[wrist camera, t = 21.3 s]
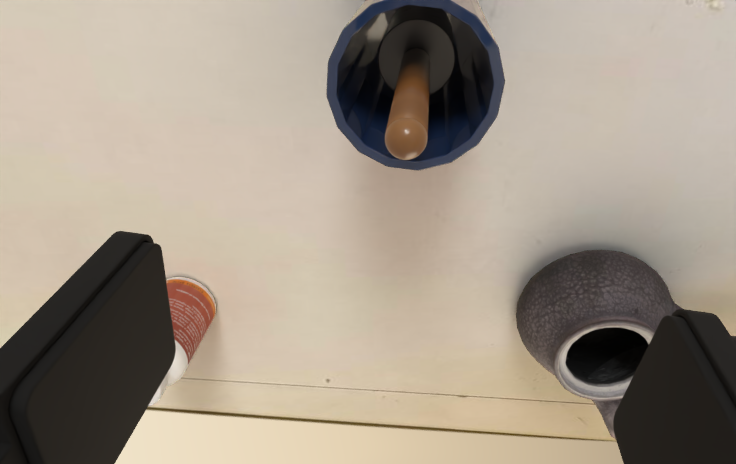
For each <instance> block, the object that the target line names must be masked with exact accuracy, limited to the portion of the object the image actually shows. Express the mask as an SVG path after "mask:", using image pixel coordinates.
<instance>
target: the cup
mask: <svg viewBox="0 0 736 464" xmlns="http://www.w3.org/2000/svg"><path fill="white" fill-rule="evenodd" d="M407 5H412V6H421V7H430V8H439V9H442V10H443V11H444V12H445V13H446V14H447V16H448V18H449V20H450V22H451V26H452V32H453V40H454V47H455V66H454V70H453V73H452V75H451V77H450V79H449V80H448V82H447V83H446V84H445V85H444V86H443V87H442V88H441V89H440V90H439V91H437V92H436V93H434V94H432V95H429V114H428V140H427V144H426V147H425V149H424V151H423V152H422V153H421V154H420V155H419V156H417V157H416V158H413V159H410V160H402V159H398V158H396V157H394V156H393V155H392V154H391V153H390V152H389V151H388V149H387V147H386V144H385V132H386V128H387V124H388V119H389V115H390V110H391V106H392V101H393V97H394V93H395V91H393V90H392V89H391V88H390V87H389V86H388V85H387V84H386V83H385V81H384V80H383V78H382V76H381V73H380V71H379V66H378V52H379V48H380V45H381V42H382V40H383V37H384V35H385V32H386V30H387V28H388V25H389V23H390V20H391V18H392V17H393V15H394V14H395V13H396V11H397V10H398V9H399V8H401V7H404V6H407ZM504 84H505V79H504V73H503V68H502V63H501V58H500V52H499V47H498V45H497V43H496V41H495V38H494V36H493V34H492V32H491V29H490V27H489V25H488V23H487V21H486V18H485V16H484V14H483V12H482V9H481V7H480V5H479V3H478V1H477V0H365V2H364V3H363V4H362V6H361V7H360V8H359V9H358V11H357V12H356V13H355V15H354V16H353V17H352V19H351V20H350V21H349V22H348V24H347V25H346V26H345V28H344V29H343V30H342V33H341V35H340V37H339V39H338V41H337V43H336V45H335V47H334V50H333V52H332V54H331V56H330V58H329V61H328V73H327V99H328V102H329V104H330V107H331V110H332V113H333V116H334V119H335V121H336V124H337V127H338V128H339V129H340V131H341V132H342V133H343V134H344V135H345V136H346V137H347V139H348V140H349V141H350V142H351V143H352V144H353V146H354V147H355V148H356V149H357V150H358V151H359V152H360V153H362V154H364V155H366V156H368V157H370V158H372V159H374V160H376V161H378V162H379V163H381V164H383V165H385V166H388V167H394V168H403V169H411V170H423V169H427V168H431V167H436V166H440V165H444V164H448V163H450V162H453V161H454V160H456V159H457V158H459V157H460V156H462V155H463V154H465V153H466V152H467V151H469V150H470V149H472V148H473V147H475V146H476V145H477V144H478V143H479V142H480V141H481V139H482V138H483V136H484V135H485V133H486V132H487V131H488V129H489V128H490V126H491V125H492V123H493V122H494V120H495V119H496V117H497V115H498V111H499V107H500V102H501V98H502V93H503V89H504Z"/></svg>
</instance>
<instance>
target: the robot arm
mask: <svg viewBox="0 0 736 464" xmlns="http://www.w3.org/2000/svg"><path fill="white" fill-rule="evenodd" d="M175 352H176V345H175V338H174V332H173V325H172V318H171V311H170V304H169V297H168V290H167V283H166V277H165V270H164V263H163V256H162V250H161V247H160V245H158V244H154V243H153V239H152V238H151V236H149V235H145V234H138V233H131V232H123V231H118V232H116V233H114V234H113V235H112V236H111V237H110V238H109V239H108V240H107V241H106V242H105V243H104V244H103V245H102V246H101V247H100V248H99V249H98V250H97V251H96V252H95V253H94V254H93V255H92V256H91V257H90V258H89V259H88V260H87V261H86V262H85V263H84V264H83V265H82V266H81V267H80V268H79V269H78V270H77V271H76V272H75V273H74V274H73V275H72V276H71V277H70V278H69V279H68V280H67V281H66V282H65V284H64V285H63V286H62V287H61V288H60V289H59V290H58V291H57V292H56V293H55V294H54V295H53V296H52V297H51V298H50V299H49V300H48V301H47V302H46V303H45V304H44V305H43V306H42V307H41V308H40V309H39V310H38V311H37V312H36V313H35V314H34V315H33V316H32V317H31V318H30V319H29V320H28V321H27V322H26V323H25V324H24V325H23V326H22V327H21V328H20V329H19V330H18V331H17V332H16V333H15V334H14V335H13V336H12V337H11V338H10V339H9V340H8V341H7V342H6V343H5V344H4V345H3V346H2V347H1V348H0V464H114V463H115V462H116V460H117V458H118V456H119V455H120V453H121V451H122V450H123V448H124V446H125V444H126V443H127V441H128V439H129V438H130V436H131V434H132V433H133V430H134V429H135V427H136V426H137V424H138V422H139V421H140V419H141V417H142V415H143V414H144V412H145V410H146V409H147V407H148V405H149V403H150V402H151V400H152V398H153V397H154V395H155V393H156V391H157V390H158V388H159V386H160V385H161V383H162V381H163V379H164V378H165V376H166V374H167V373H168V371H169V369H170V367H171V365H172V363H173V361H174V357H175ZM613 429H614V434H615V437H616V440H617V443H618V446H619V449H620V453H621V456H622V459H623V462H624V464H736V343H735V342H734V340H733V339H732V337H731V336H730V334H729V333H728V331H727V330H726V328H725V327H724V325H723V324H722V322H721V321H720V319H719V318H718V317H717V316H716V315H714V314H712V313H705V312H698V311H691V310H684V309H679V310H676V311H675V312H673V314H672V315H671V316H669V315H668V316H665V317H663V318H662V320H661V321H660V323H659V325H658V327H657V329H656V331H655V333H654V335H653V337H652V339H651V341H650V343H649V345H648V347H647V349H646V351H645V353H644V355H643V358H642V360H641V362H640V364H639V366H638V368H637V370H636V372H635V374H634V376H633V378H632V380H631V382H630V384H629V386H628V388H627V390H626V392H625V394H624V396H623V398H622V400H621V402H620V404H619V406H618V408H617V410H616V412H615V415H614V419H613Z"/></svg>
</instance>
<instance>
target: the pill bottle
mask: <svg viewBox="0 0 736 464" xmlns="http://www.w3.org/2000/svg"><path fill="white" fill-rule="evenodd" d="M166 283H167V290H168V297H169V304H170V311H171V318H172V325H173V332H174V338H175V345H176V352H175V357H174V361H173V363H172V365H171V367H170V369H169V371H168V373H167V374H166V376H165V378H164V379H163V381H162V383H161V385H160V386H159V388H158V390H157V391H156V393H155V395H154V397H153V398H152V400H151V402H150V403H149V405H148V406H151V405H153V404H155V403H157V402H158V401H159V399H160V398H161V396H162V395H163V393H164V391H165V390H166V388H167V386H170V385H172V384H174V383H176V382H177V381H178V380H180V379H181V377H182V376H183V375H184V373H185V371H186V369H187V368H188V366H189V364H190V362H191V360H192V358H193V357H194V355H195V353H196V351H197V349H198V347H199V345H200V344H201V342H202V340H203V338H204V336H205V334H206V332H207V331H208V329H209V327H210V325H211V323H212V321H213V319H214V317H215V314H216V303H215V300H214V298H213V296H212V294H211V293H210V292H209V290H208V289H207V288H206V287H205V286H204V285H202V284H201V283H199V282H197V281H195V280H192V279H189V278H185V277H172V278H168V279H166Z"/></svg>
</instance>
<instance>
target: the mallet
mask: <svg viewBox="0 0 736 464" xmlns="http://www.w3.org/2000/svg"><path fill="white" fill-rule="evenodd" d="M378 66H379V71H380V73H381V76H382V78H383V80H384V81H385V83H386V84H387V85H388V86H389V87H390V88H391V89H392V90H393V91H395V93H394V97H393V101H392V106H391V110H390V115H389V119H388V124H387V128H386V132H385V144H386V147H387V149H388V151H389V152H390V153H391V154H392V155H393V156H394V157H396V158H398V159H402V160H410V159H413V158H416V157H417V156H419V155H420V154H421V153H422V152H423V151H424V149H425V147H426V144H427V140H428V114H429V95H432V94H434V93H436V92H437V91H439V90H440V89H441V88H442V87H443V86H444V85H445V84H446V83H447V82H448V80H449V79H450V77H451V75H452V73H453V70H454V66H455V47H454V40H453V32H452V26H451V22H450V20H449V18H448V16H447V14H446V13H445V12H444V11H443V10H442V9H439V8H430V7H421V6H412V5H407V6H404V7H401V8H399V9H398V10H397V11H396V13H395V14H394V15H393V17H392V18H391V20H390V23H389V25H388V28H387V30H386V32H385V35H384V37H383V40H382V42H381V45H380V48H379V52H378Z"/></svg>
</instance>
